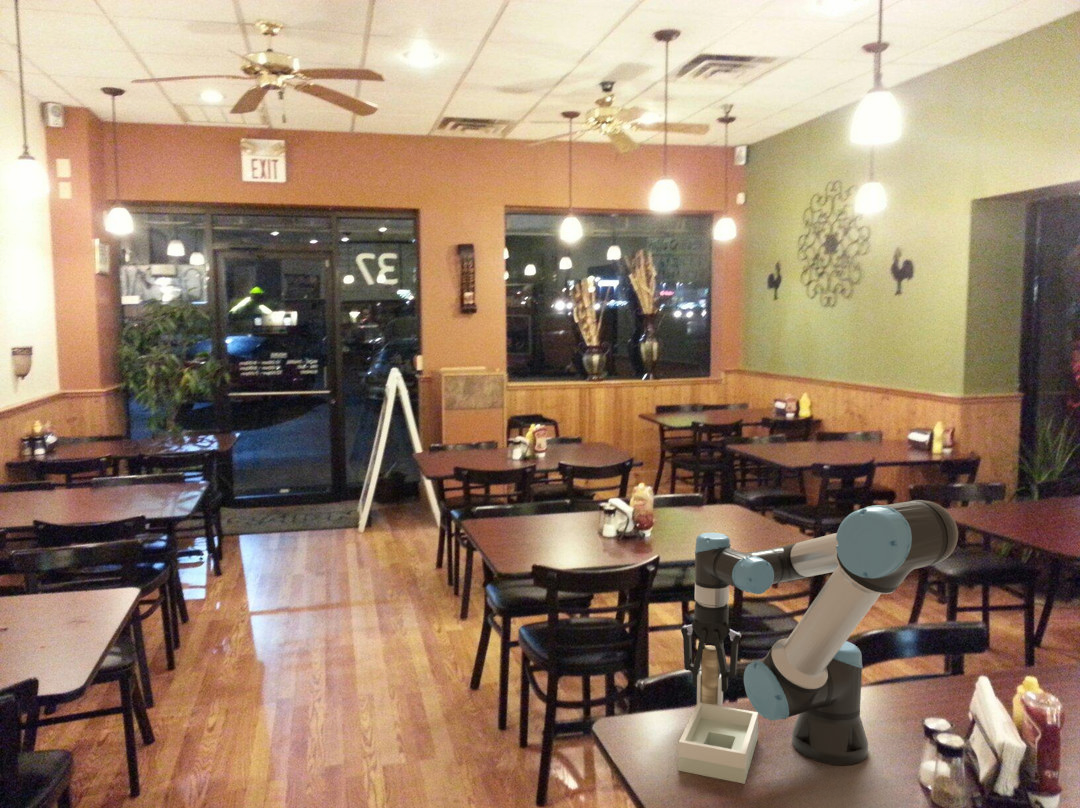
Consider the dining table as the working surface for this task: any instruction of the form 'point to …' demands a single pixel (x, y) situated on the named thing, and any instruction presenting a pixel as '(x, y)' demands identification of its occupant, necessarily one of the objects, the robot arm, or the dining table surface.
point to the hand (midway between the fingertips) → (709, 702)
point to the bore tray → (719, 742)
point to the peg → (709, 675)
